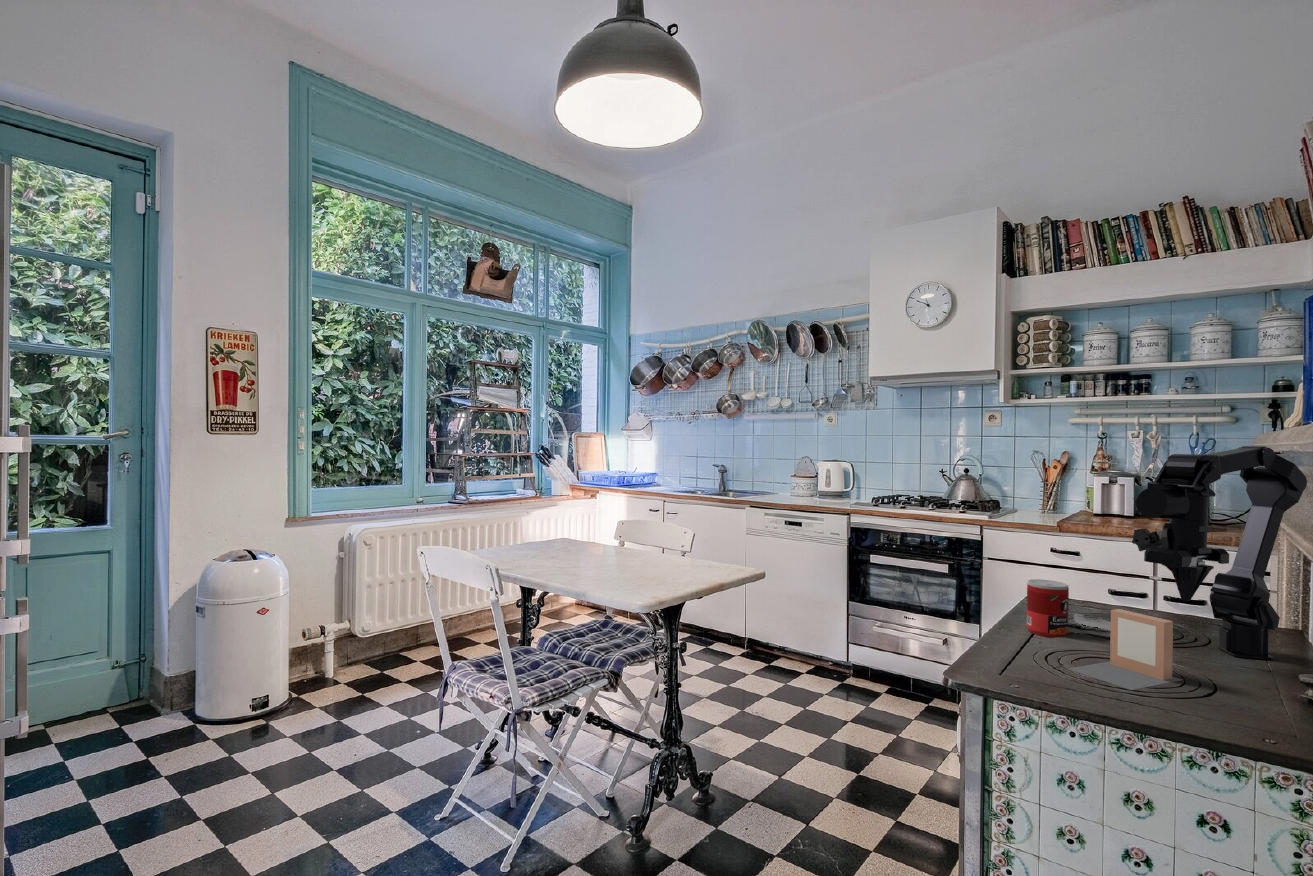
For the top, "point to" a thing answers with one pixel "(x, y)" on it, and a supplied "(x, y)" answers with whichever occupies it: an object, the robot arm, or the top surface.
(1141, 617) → the terracotta tile
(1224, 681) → the top surface
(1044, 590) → the canned food
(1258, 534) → the robot arm
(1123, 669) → the rubber mat
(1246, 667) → the top surface
